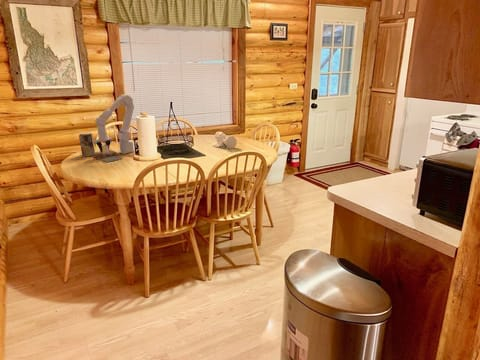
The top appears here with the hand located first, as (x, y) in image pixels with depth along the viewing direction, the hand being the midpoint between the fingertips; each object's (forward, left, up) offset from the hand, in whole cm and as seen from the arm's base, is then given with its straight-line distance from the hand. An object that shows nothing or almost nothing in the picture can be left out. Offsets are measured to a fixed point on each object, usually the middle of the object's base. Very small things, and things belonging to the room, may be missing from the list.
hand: (104, 151), depth 278 cm
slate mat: (+1, +13, -4) cm, 14 cm away
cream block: (0, 0, -4) cm, 4 cm away
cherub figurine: (-82, +43, -4) cm, 92 cm away
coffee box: (+8, -11, -4) cm, 14 cm away
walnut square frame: (0, 0, -4) cm, 4 cm away
